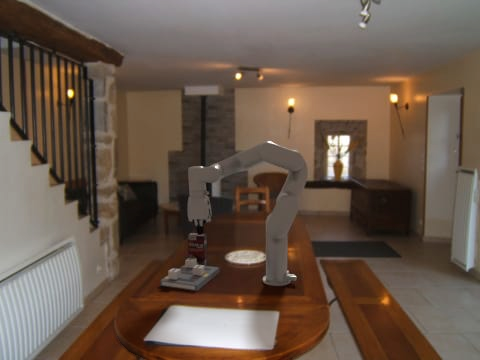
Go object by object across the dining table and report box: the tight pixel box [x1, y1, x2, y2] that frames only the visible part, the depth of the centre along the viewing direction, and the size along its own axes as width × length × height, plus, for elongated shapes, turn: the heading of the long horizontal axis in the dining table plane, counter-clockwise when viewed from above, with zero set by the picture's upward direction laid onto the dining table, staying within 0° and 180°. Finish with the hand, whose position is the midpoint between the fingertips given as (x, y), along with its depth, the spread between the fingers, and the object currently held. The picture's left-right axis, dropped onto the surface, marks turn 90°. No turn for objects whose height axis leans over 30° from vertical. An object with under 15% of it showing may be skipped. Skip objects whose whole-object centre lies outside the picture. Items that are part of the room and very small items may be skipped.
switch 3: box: [193, 265, 206, 276], centre depth 188 cm, size 4×4×4 cm
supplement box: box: [187, 232, 208, 266], centre depth 209 cm, size 9×5×16 cm, turn 78°
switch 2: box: [184, 258, 197, 268], centre depth 199 cm, size 4×4×4 cm
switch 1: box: [167, 267, 181, 280], centre depth 184 cm, size 4×4×4 cm
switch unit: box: [159, 264, 220, 292], centre depth 190 cm, size 18×24×3 cm
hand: (200, 234), depth 186 cm, fingers closed
